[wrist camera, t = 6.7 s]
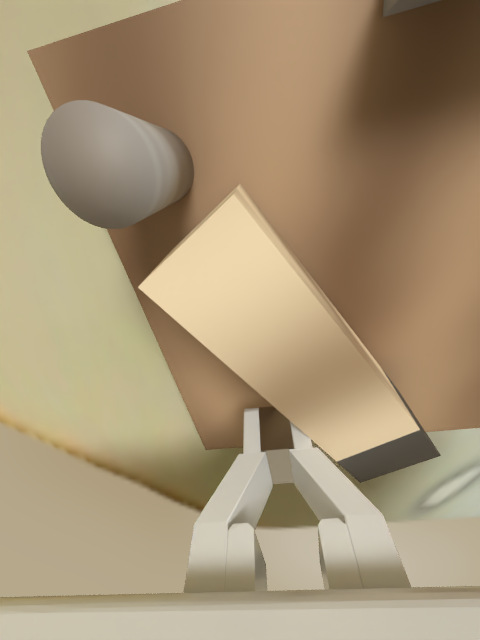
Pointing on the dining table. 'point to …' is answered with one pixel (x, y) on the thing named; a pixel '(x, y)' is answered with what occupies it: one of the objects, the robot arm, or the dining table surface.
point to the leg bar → (286, 339)
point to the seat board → (291, 171)
